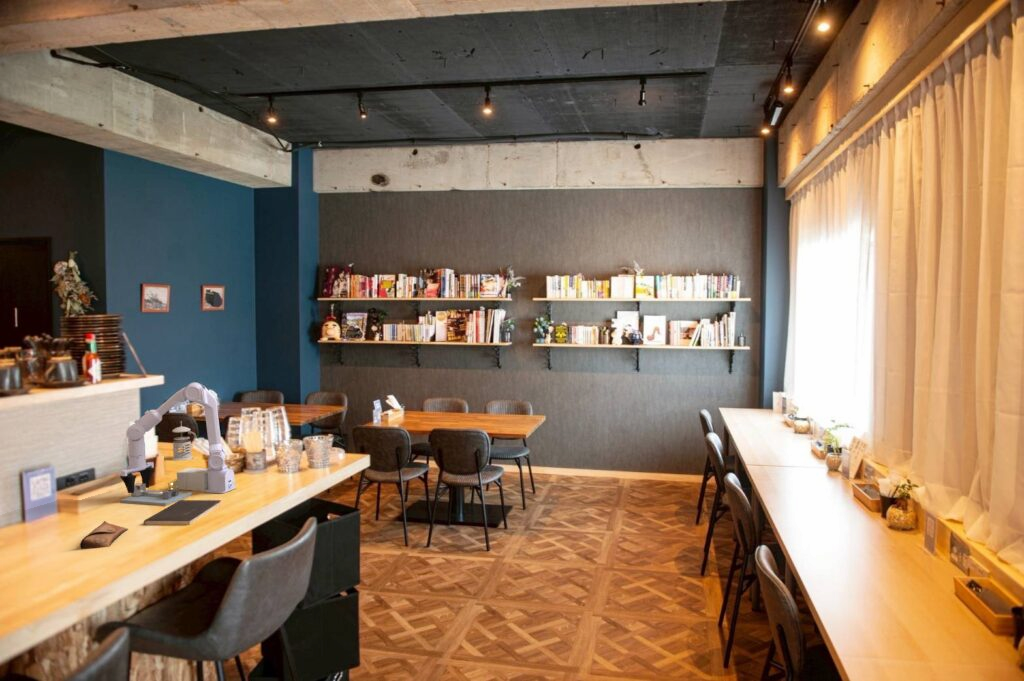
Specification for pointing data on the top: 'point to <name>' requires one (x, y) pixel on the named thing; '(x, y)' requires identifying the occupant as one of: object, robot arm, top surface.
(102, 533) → the sunglasses case
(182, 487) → the supplement box
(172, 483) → the ball knob lever
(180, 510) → the hardcover book
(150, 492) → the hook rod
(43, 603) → the top surface
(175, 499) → the board
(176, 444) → the french press
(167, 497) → the grey block
